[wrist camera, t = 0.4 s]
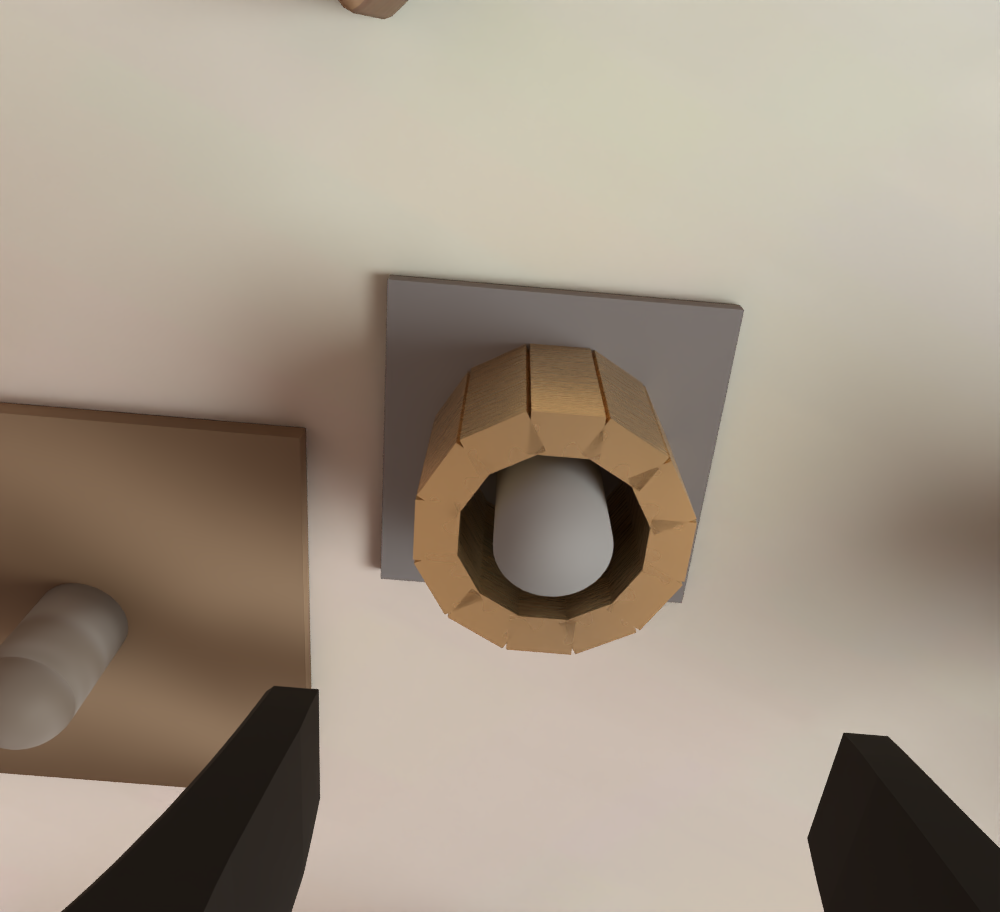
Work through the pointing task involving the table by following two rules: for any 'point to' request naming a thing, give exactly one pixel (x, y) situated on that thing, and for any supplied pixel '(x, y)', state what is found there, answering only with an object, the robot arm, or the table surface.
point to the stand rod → (544, 479)
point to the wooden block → (373, 7)
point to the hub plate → (145, 588)
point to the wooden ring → (563, 433)
